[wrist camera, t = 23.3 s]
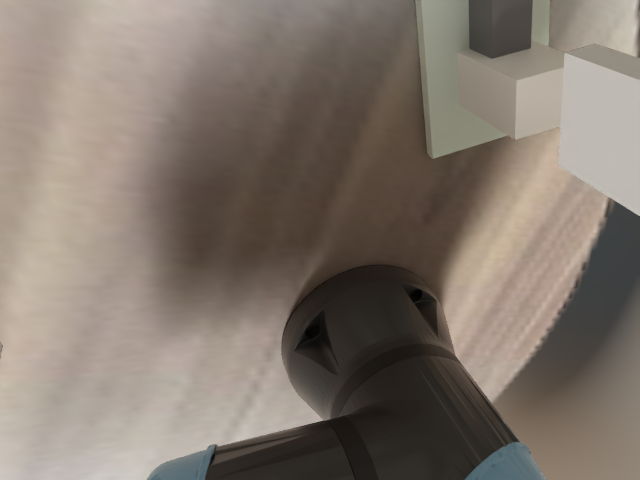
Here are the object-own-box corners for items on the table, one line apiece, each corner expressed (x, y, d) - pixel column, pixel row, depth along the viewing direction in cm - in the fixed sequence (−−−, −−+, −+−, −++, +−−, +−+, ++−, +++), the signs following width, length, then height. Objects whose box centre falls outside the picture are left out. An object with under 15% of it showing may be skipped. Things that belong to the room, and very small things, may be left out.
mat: (537, 120, 49) (545, 124, 48) (427, 154, 47) (432, 158, 46) (547, -153, 38) (557, -154, 38) (405, -122, 37) (412, -121, 36)
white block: (517, 88, 46) (581, 120, 39) (458, 104, 45) (515, 140, 39) (522, -114, 38) (603, -114, 32) (452, -99, 37) (521, -95, 31)
